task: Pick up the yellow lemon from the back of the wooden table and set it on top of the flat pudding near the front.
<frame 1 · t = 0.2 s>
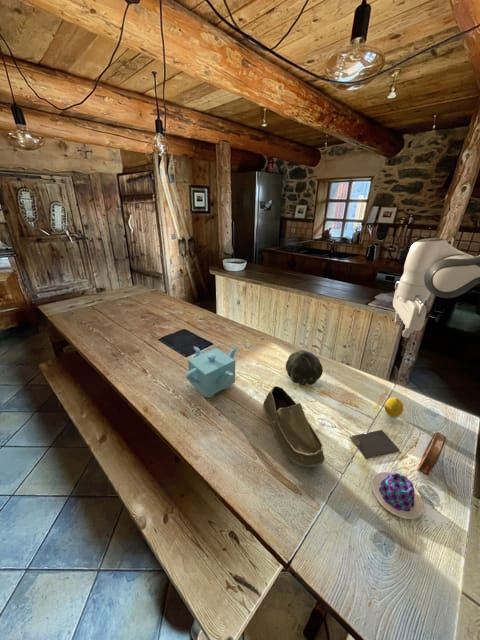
hand: (401, 330, 89), 30 cm above the table, tool pointing down, fingers open, 8 cm apart
loafer: (287, 433, 87), on the table
slate coaster: (373, 444, 84), on the table
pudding: (395, 495, 70), on the table
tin: (427, 462, 79), on the table
squash: (302, 379, 113), on the table
teal knobbed box: (214, 385, 108), on the table
lemon: (390, 416, 95), on the table
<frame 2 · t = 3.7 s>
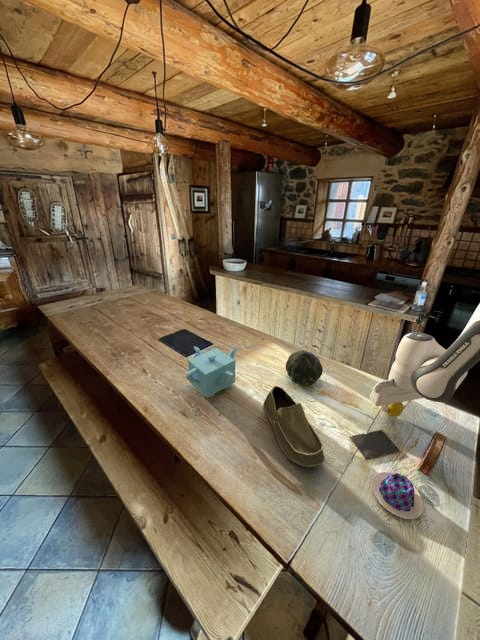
hand: (393, 409, 93), 3 cm above the table, tool pointing down, fingers closed on lemon, 5 cm apart
lemon: (390, 416, 95), on the table, touching gripper
everything else where it was.
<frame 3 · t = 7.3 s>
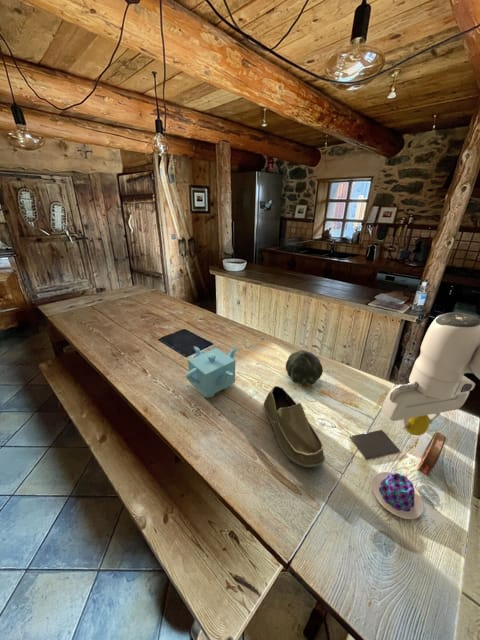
hand: (414, 424, 67), 19 cm above the table, tool pointing down, fingers closed on lemon, 5 cm apart
lemon: (410, 433, 68), point 16 cm above the table, touching gripper
everything else where it was.
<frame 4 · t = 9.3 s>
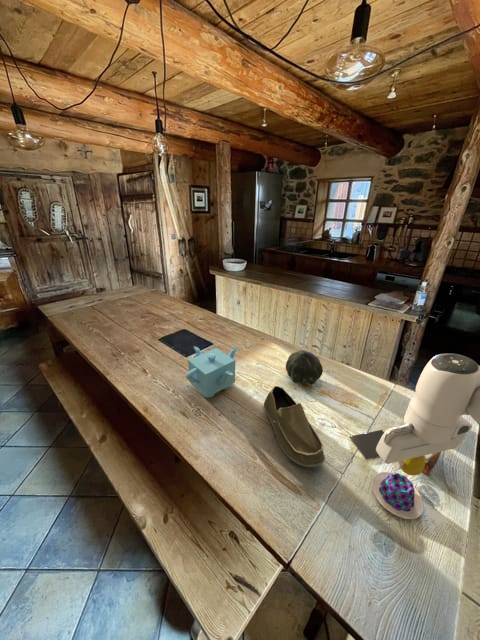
hand: (410, 463, 64), 13 cm above the table, tool pointing down, fingers closed on lemon, 5 cm apart
lemon: (405, 472, 66), point 9 cm above the table, touching gripper
everything else where it was.
when the fingers open (8 cm above the table, at t = 10.8 s): lemon stays where it is, resting on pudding.
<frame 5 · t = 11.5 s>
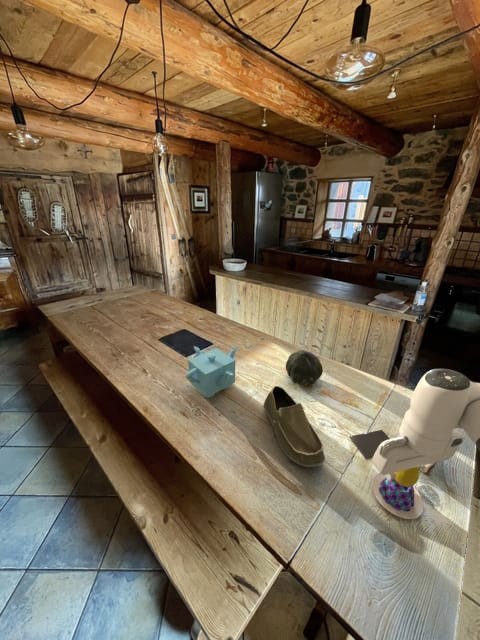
hand: (405, 473, 66), 9 cm above the table, tool pointing down, fingers open, 8 cm apart
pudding: (395, 495, 70), on the table, touching lemon
lemon: (400, 483, 68), point 5 cm above the table, touching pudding
everything else where it was.
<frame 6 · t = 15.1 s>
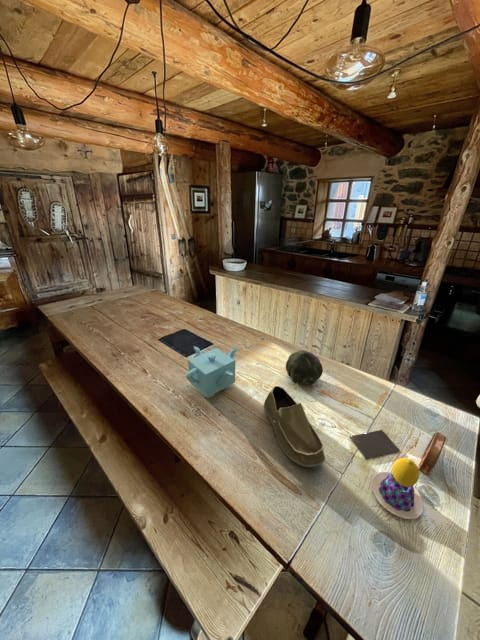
nothing on the table moved.
at the end: lemon inside the target area on the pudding (0.1 cm from its centre), point 5.3 cm above the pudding's base; lemon touching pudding; the gripper is holding nothing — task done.
